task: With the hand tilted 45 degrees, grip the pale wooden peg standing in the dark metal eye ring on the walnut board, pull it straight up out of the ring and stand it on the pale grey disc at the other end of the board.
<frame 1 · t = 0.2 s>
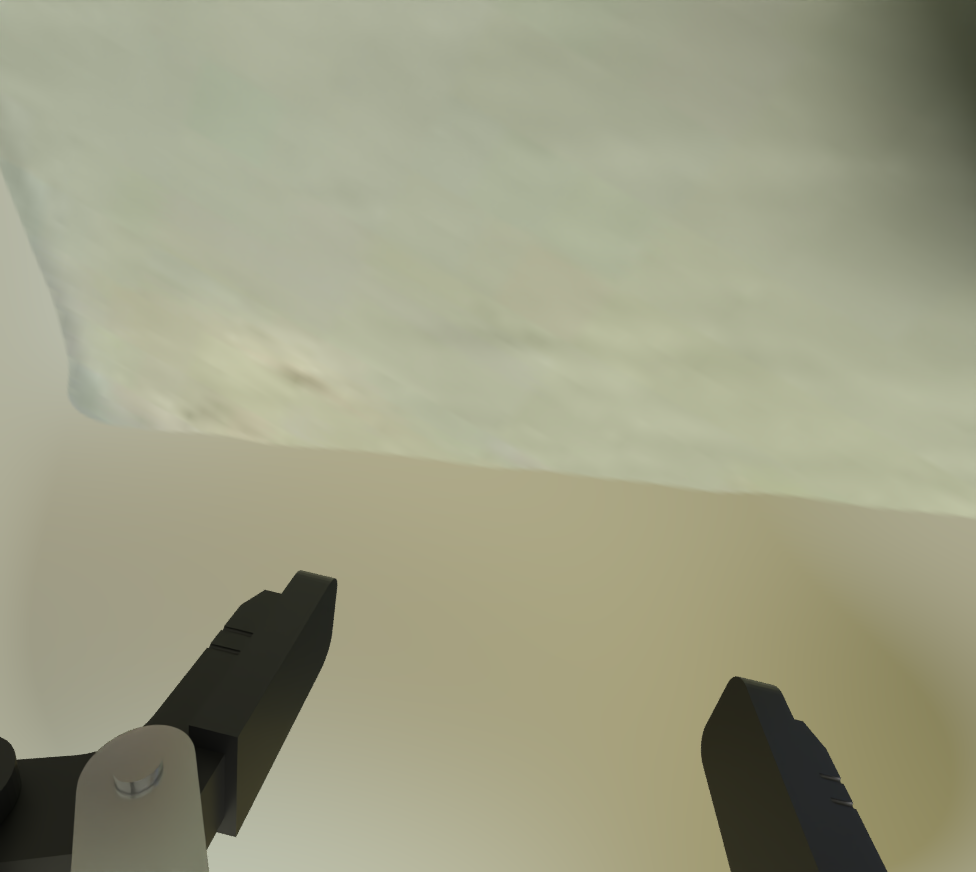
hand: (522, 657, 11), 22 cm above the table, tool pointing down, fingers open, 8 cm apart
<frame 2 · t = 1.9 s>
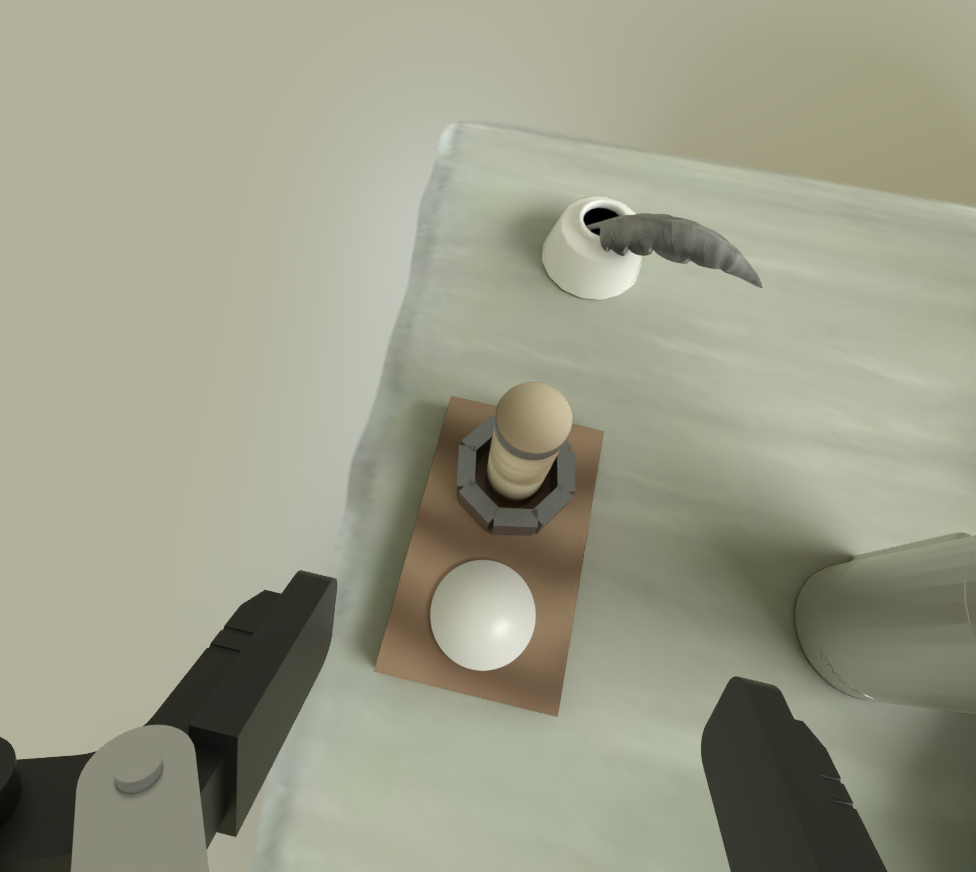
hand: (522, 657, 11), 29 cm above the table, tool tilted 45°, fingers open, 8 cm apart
eye ring: (509, 488, 42), resting on walnut board
walnut board: (497, 545, 40), on the table
rest disc: (481, 615, 38), resting on walnut board
inkwell: (629, 286, 50), on the table
wooden peg: (512, 480, 40), point 2 cm above the table, touching walnut board
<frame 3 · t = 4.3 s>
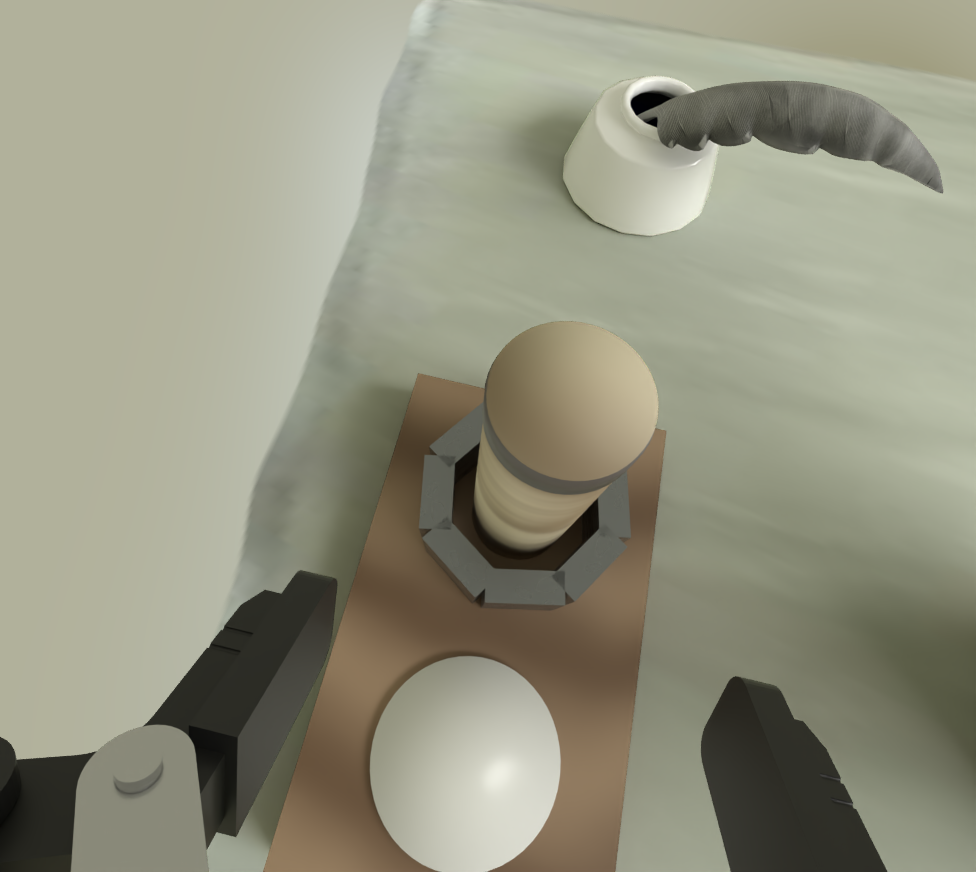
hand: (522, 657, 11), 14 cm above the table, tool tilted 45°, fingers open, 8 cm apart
eye ring: (513, 522, 26), resting on walnut board
walnut board: (492, 621, 24), on the table
rest disc: (465, 747, 22), resting on walnut board
inkwell: (693, 218, 33), on the table
wooden peg: (517, 513, 24), point 2 cm above the table, touching walnut board
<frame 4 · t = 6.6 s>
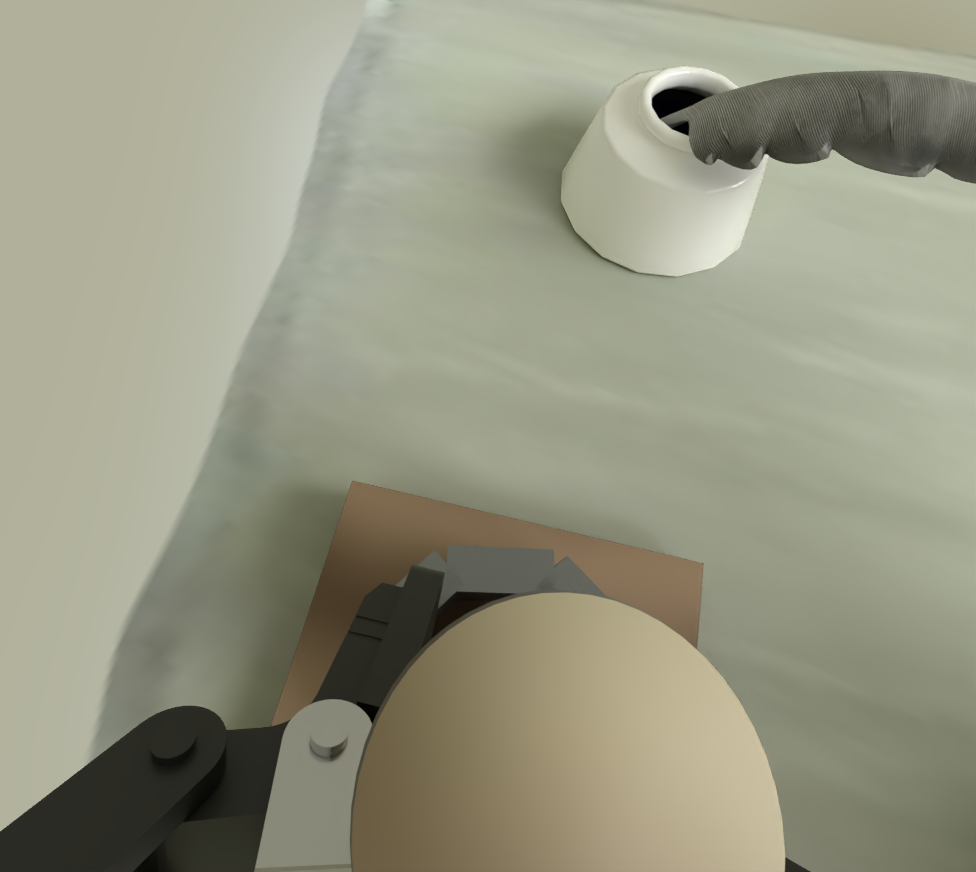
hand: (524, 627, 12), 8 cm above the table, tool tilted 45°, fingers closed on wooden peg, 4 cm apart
eye ring: (486, 694, 18), resting on walnut board
walnut board: (453, 855, 16), on the table
inkwell: (729, 252, 26), on the table
wooden peg: (490, 699, 16), point 2 cm above the table, touching gripper, walnut board
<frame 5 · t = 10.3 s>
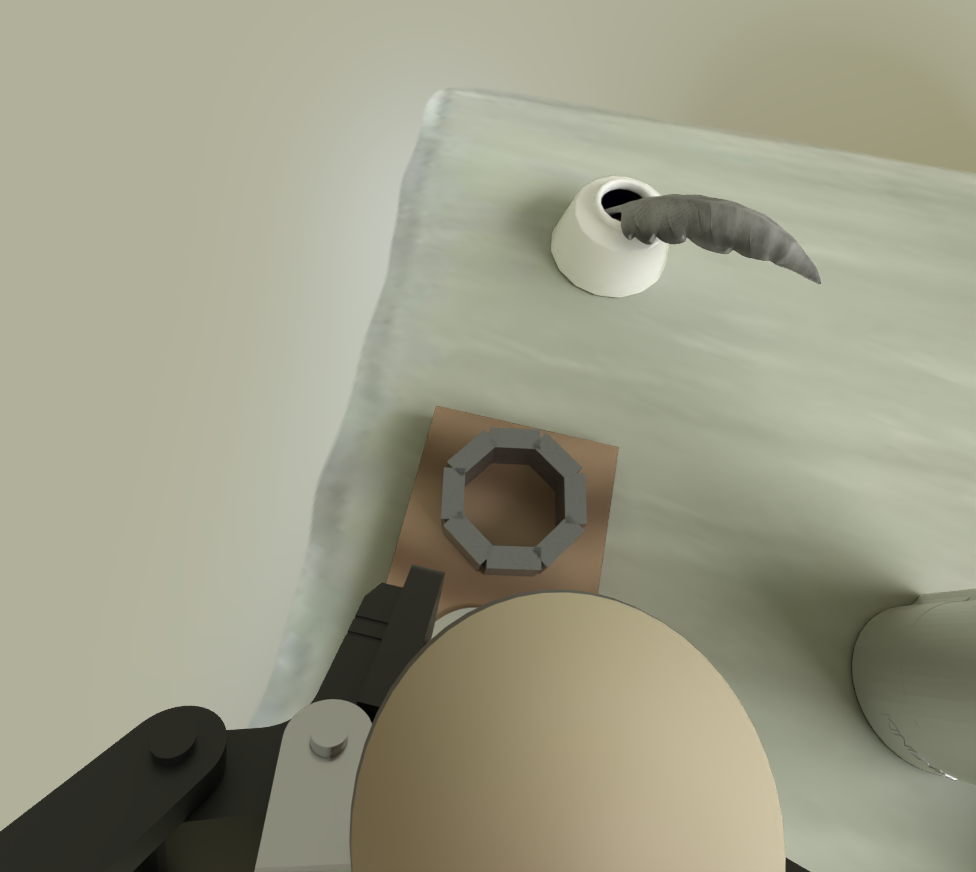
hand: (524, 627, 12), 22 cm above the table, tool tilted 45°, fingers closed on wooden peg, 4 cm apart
eye ring: (506, 515, 35), resting on walnut board
walnut board: (491, 586, 33), on the table
rest disc: (473, 673, 32), resting on walnut board
inkwell: (653, 282, 42), on the table
wooden peg: (490, 699, 16), point 16 cm above the table, touching gripper
when the fingers open (9 cm above the table, at t = 14.1 s): wooden peg drops 1 cm, resting on rest disc.
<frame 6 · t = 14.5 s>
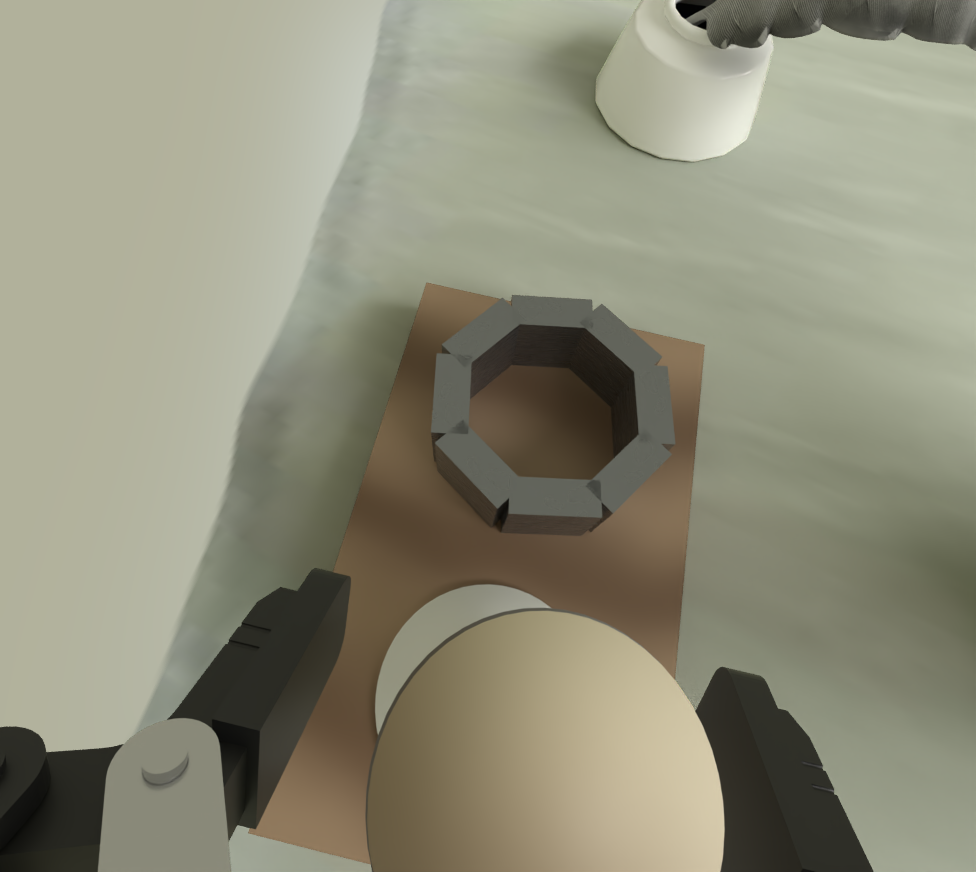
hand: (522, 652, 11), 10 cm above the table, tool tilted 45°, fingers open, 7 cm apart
eye ring: (533, 448, 23), resting on walnut board
walnut board: (511, 554, 21), on the table
rest disc: (483, 692, 19), resting on walnut board
inkwell: (738, 145, 30), on the table
wooden peg: (487, 699, 17), point 2 cm above the table, touching rest disc
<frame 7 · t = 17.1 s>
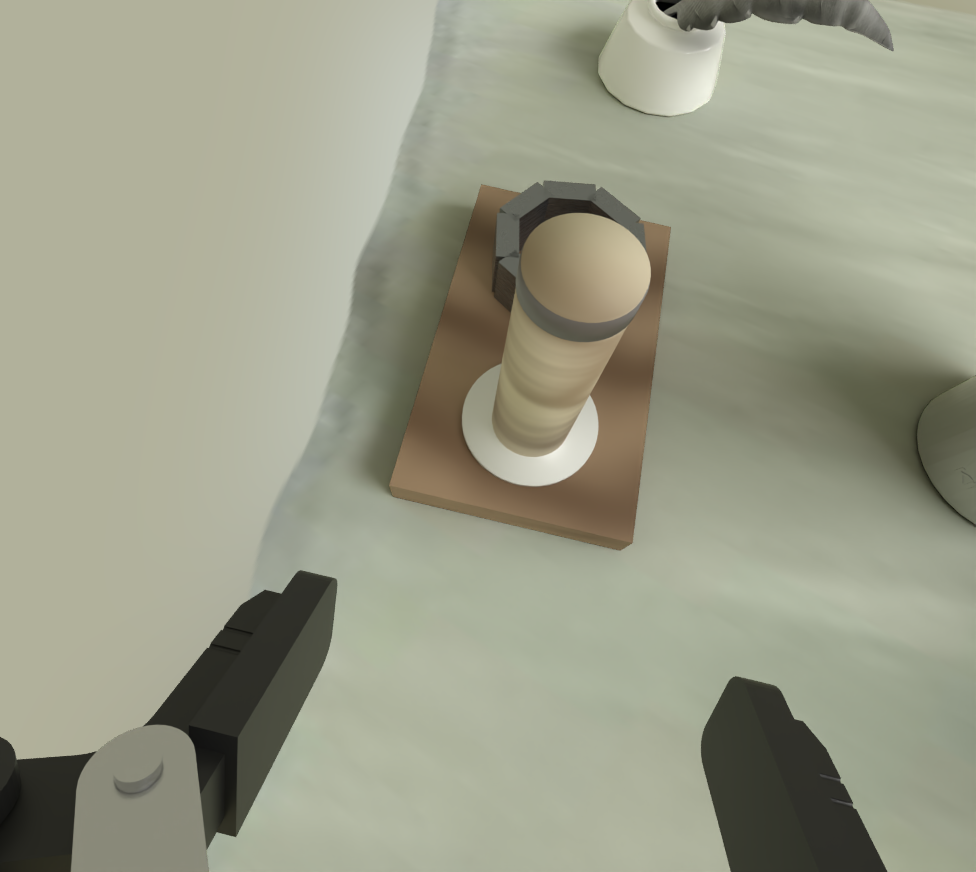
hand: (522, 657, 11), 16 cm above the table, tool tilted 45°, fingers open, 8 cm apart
eye ring: (554, 296, 34), resting on walnut board
walnut board: (541, 358, 32), on the table
rest disc: (524, 436, 30), resting on walnut board
inkwell: (703, 105, 41), on the table
wooden peg: (530, 420, 28), point 2 cm above the table, touching rest disc
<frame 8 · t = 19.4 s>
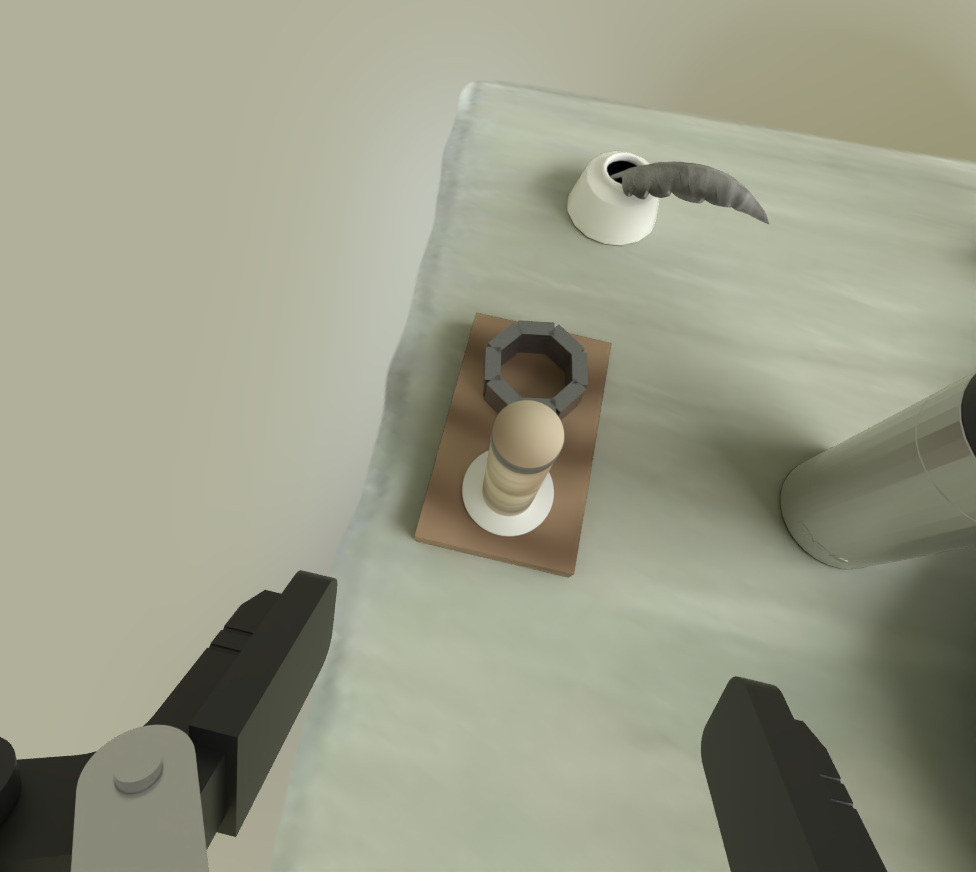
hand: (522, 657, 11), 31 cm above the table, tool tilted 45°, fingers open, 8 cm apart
eye ring: (528, 393, 47), resting on walnut board
walnut board: (518, 440, 46), on the table
rest disc: (505, 497, 44), resting on walnut board
inkwell: (647, 234, 55), on the table
wooden peg: (508, 490, 42), point 2 cm above the table, touching rest disc
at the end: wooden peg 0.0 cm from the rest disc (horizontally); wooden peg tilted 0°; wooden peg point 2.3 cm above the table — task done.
